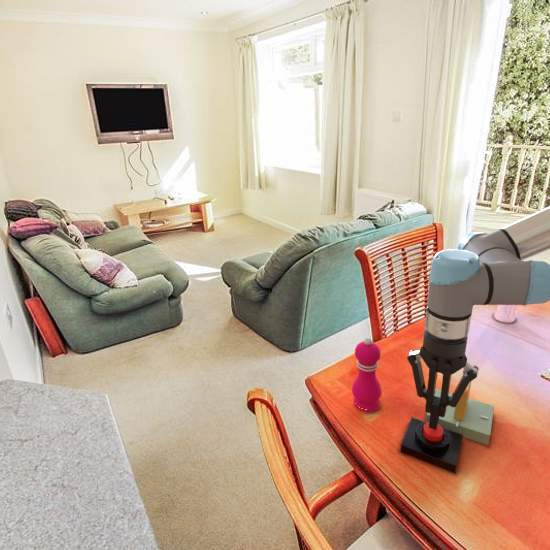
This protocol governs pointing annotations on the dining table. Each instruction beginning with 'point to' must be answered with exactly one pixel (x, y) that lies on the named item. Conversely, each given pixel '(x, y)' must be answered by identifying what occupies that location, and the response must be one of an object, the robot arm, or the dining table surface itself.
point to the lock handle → (462, 404)
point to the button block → (432, 446)
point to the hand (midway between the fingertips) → (433, 424)
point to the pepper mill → (367, 376)
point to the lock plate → (469, 420)
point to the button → (433, 433)
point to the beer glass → (505, 313)
